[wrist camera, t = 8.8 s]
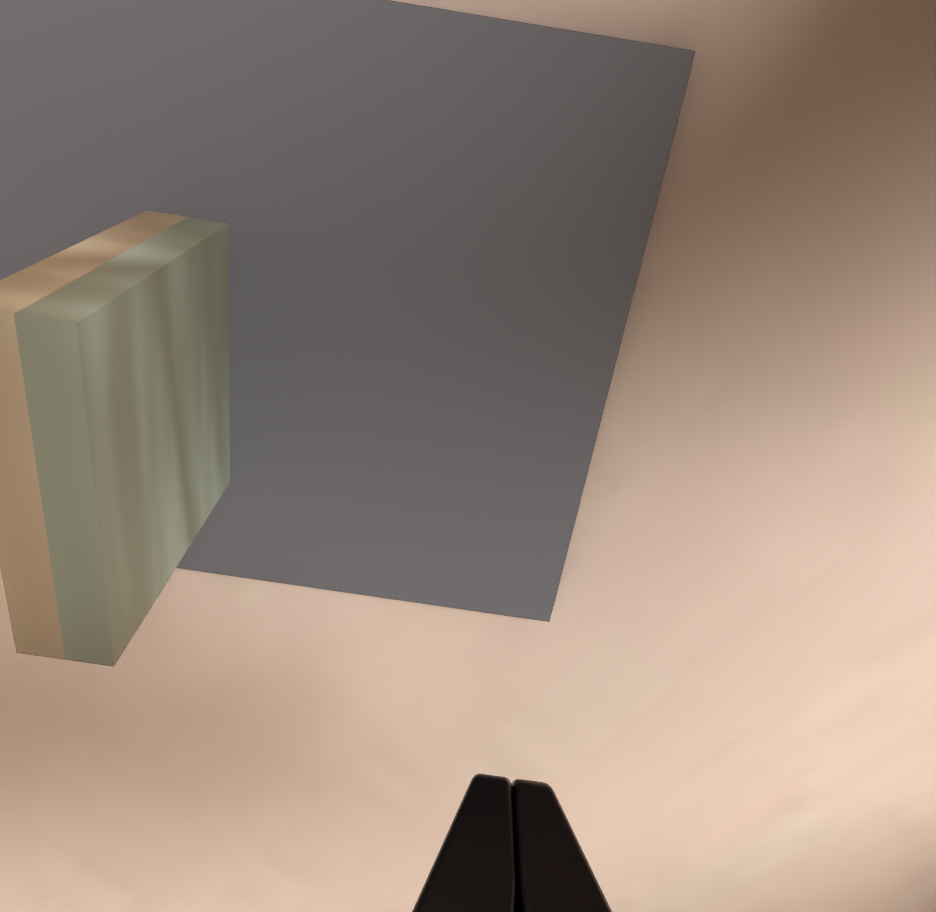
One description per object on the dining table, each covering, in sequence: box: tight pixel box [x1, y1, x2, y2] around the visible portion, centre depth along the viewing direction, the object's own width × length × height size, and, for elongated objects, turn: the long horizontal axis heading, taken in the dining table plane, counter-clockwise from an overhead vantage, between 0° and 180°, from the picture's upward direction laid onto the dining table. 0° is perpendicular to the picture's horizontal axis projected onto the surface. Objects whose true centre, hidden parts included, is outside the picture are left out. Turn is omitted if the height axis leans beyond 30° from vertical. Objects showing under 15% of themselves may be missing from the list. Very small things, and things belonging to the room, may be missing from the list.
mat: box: [0, 0, 695, 622], centre depth 16 cm, size 16×13×1 cm
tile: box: [0, 211, 230, 666], centre depth 14 cm, size 2×6×6 cm, turn 171°
